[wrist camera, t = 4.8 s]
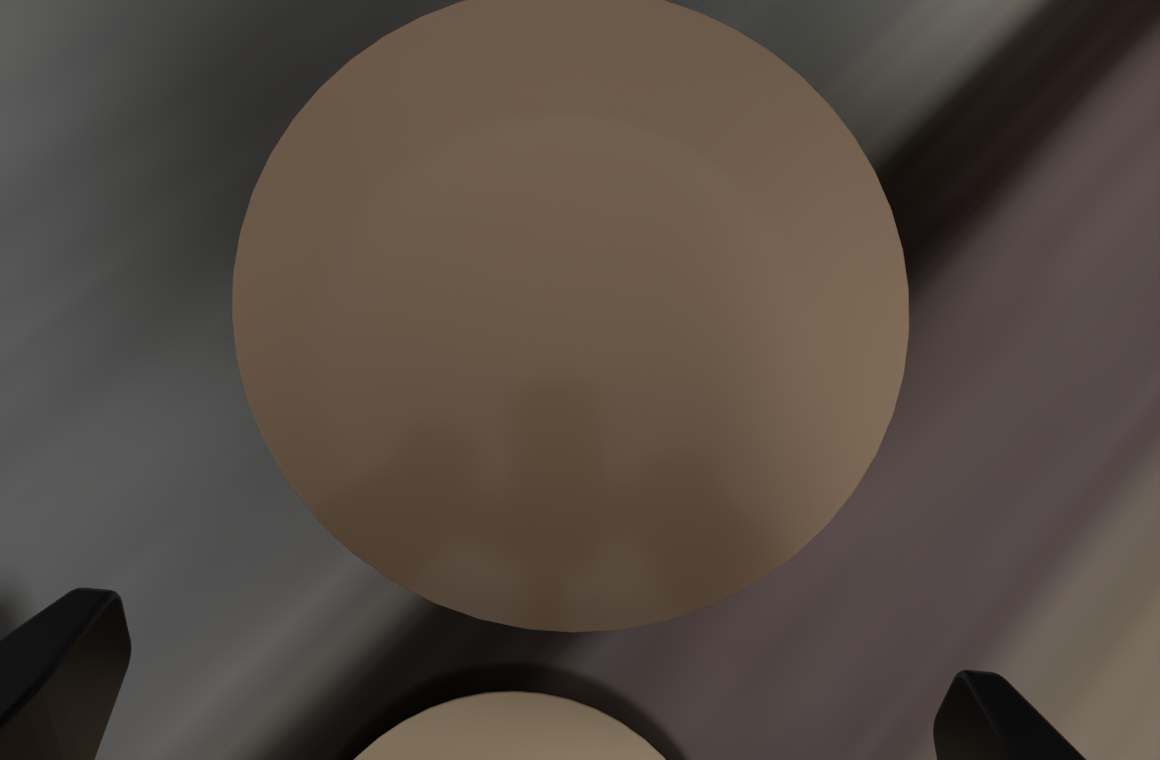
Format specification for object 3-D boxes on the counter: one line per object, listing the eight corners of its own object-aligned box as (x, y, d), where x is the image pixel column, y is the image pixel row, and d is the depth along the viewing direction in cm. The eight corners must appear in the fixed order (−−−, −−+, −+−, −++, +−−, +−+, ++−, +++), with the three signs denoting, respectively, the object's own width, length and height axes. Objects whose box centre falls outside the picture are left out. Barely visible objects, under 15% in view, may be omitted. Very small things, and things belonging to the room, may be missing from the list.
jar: (717, 550, 20) (1025, 470, 8) (469, 654, 20) (366, 753, 7) (616, 314, 22) (743, -90, 9) (377, 404, 21) (145, 101, 8)
